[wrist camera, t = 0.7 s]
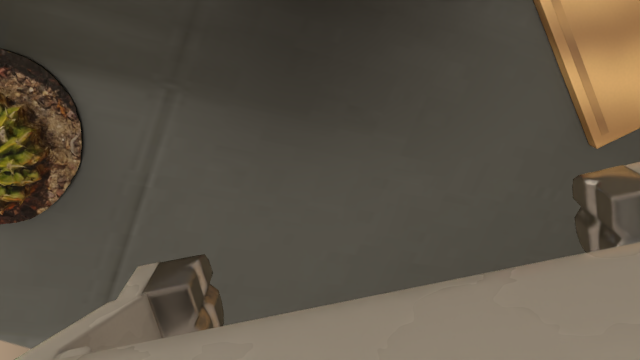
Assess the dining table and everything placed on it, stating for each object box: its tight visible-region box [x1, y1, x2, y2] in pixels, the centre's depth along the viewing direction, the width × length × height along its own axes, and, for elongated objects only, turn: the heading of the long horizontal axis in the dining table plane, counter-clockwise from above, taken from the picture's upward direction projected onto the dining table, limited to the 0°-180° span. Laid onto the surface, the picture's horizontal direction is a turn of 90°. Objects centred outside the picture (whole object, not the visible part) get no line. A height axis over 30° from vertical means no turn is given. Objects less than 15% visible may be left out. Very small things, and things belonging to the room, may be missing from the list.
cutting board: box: [533, 0, 640, 149], centre depth 50 cm, size 20×14×2 cm
